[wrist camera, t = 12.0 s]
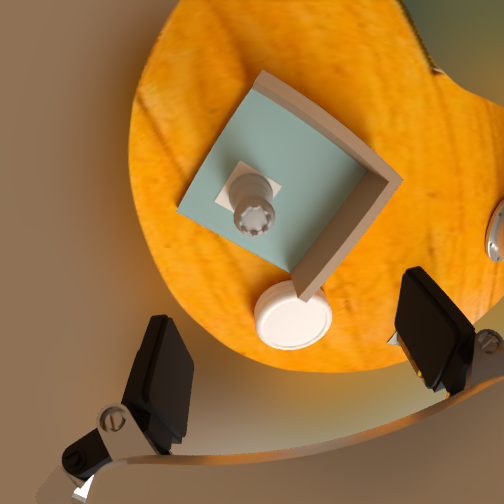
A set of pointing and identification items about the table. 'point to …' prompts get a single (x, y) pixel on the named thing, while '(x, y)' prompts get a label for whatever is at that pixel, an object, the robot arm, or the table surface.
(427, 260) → the table surface
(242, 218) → the rook chess piece
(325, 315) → the white round container
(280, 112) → the corner arena
